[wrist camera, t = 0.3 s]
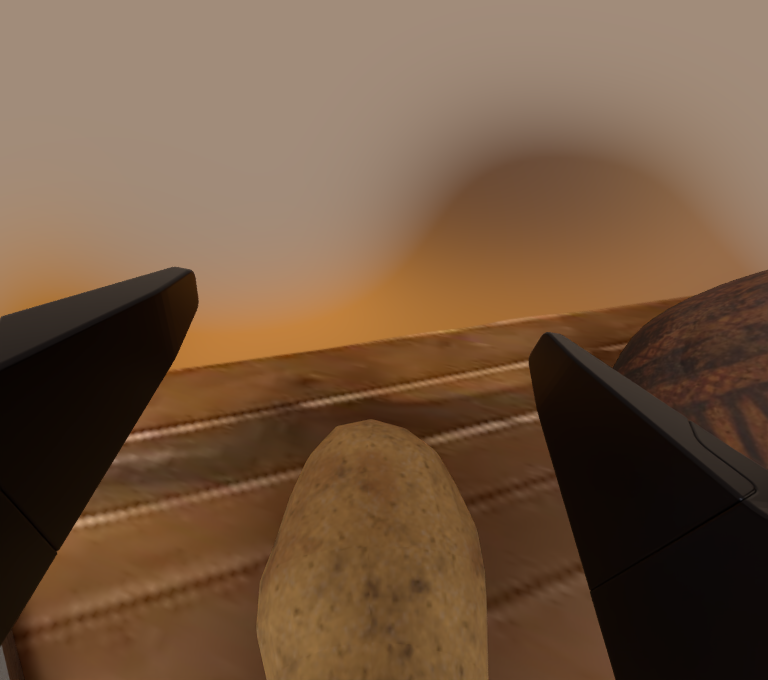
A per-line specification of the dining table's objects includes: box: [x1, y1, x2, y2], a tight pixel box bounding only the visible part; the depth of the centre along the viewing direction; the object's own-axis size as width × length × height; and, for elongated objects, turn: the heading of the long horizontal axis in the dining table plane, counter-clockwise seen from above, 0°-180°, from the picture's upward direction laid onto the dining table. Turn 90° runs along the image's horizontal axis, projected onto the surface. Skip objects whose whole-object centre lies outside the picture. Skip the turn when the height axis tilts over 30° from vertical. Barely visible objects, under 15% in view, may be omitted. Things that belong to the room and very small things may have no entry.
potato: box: [256, 419, 488, 680], centre depth 15 cm, size 10×14×8 cm
